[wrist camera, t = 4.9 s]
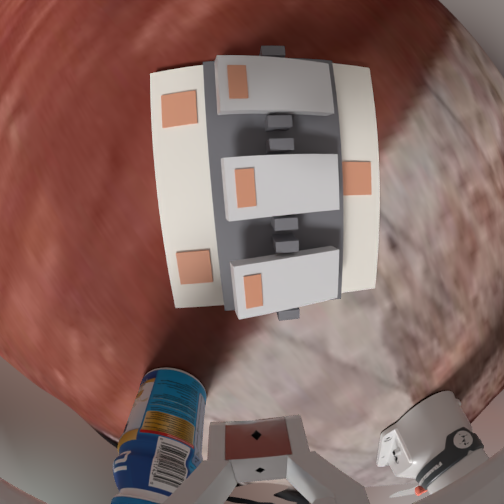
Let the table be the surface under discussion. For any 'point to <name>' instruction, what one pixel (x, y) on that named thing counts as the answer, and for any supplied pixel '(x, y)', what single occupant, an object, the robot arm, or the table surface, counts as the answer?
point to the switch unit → (252, 144)
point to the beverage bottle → (160, 437)
